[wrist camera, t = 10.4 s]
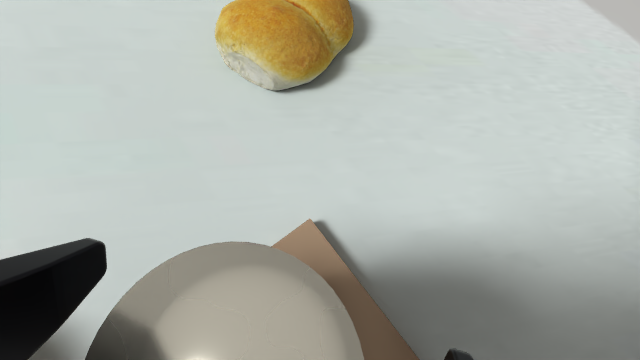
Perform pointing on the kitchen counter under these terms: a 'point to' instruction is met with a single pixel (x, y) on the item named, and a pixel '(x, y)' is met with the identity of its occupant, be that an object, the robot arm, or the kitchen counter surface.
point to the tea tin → (229, 310)
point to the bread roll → (282, 39)
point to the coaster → (347, 294)
